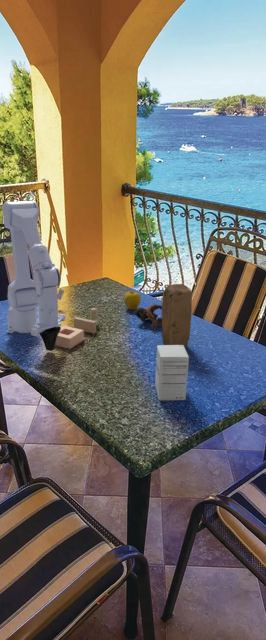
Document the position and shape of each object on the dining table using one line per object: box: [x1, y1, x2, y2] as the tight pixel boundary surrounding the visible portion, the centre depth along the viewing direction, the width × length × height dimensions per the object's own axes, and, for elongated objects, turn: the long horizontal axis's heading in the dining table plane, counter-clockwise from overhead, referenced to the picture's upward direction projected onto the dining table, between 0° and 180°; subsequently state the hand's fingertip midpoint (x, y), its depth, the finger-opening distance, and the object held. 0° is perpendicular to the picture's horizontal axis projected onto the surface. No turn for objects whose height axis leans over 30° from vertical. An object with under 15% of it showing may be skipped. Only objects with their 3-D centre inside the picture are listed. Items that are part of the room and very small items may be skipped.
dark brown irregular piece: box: [134, 304, 162, 329], centre depth 166 cm, size 12×10×8 cm
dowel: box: [90, 307, 99, 327], centre depth 161 cm, size 2×2×7 cm
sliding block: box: [55, 324, 85, 350], centre depth 147 cm, size 8×8×4 cm
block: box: [161, 283, 193, 348], centre depth 148 cm, size 11×8×20 cm
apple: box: [123, 289, 141, 311], centre depth 180 cm, size 6×6×8 cm
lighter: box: [57, 288, 65, 301], centre depth 178 cm, size 7×2×8 cm, turn 113°
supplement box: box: [154, 344, 190, 401], centre depth 119 cm, size 7×7×13 cm
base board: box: [73, 316, 97, 334], centre depth 151 cm, size 14×18×5 cm
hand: (49, 349), depth 140 cm, fingers closed
